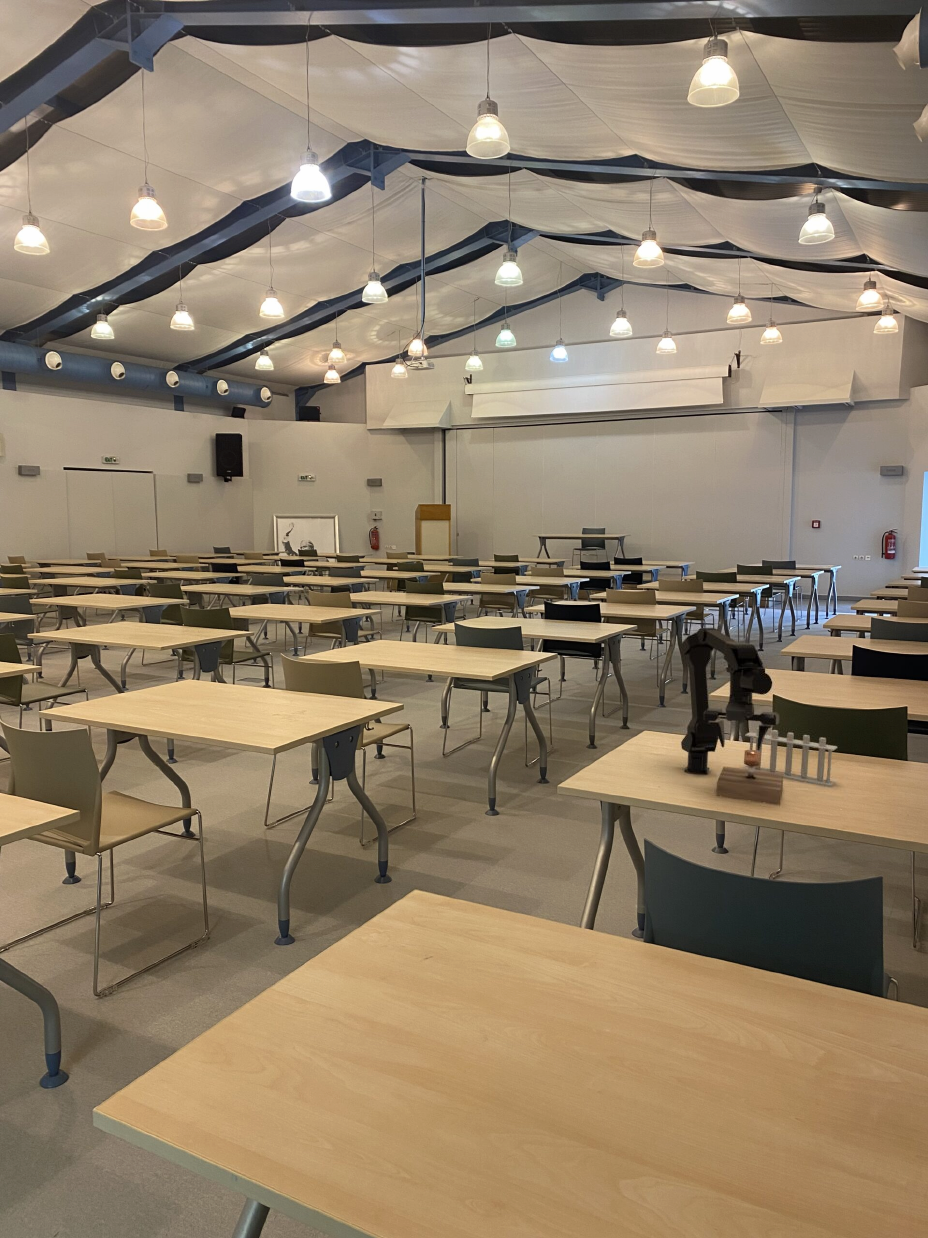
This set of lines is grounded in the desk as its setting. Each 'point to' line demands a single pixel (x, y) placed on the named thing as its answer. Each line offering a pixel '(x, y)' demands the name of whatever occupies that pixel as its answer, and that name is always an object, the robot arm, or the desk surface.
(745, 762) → the plunger
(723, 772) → the press housing
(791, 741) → the test tube rack
